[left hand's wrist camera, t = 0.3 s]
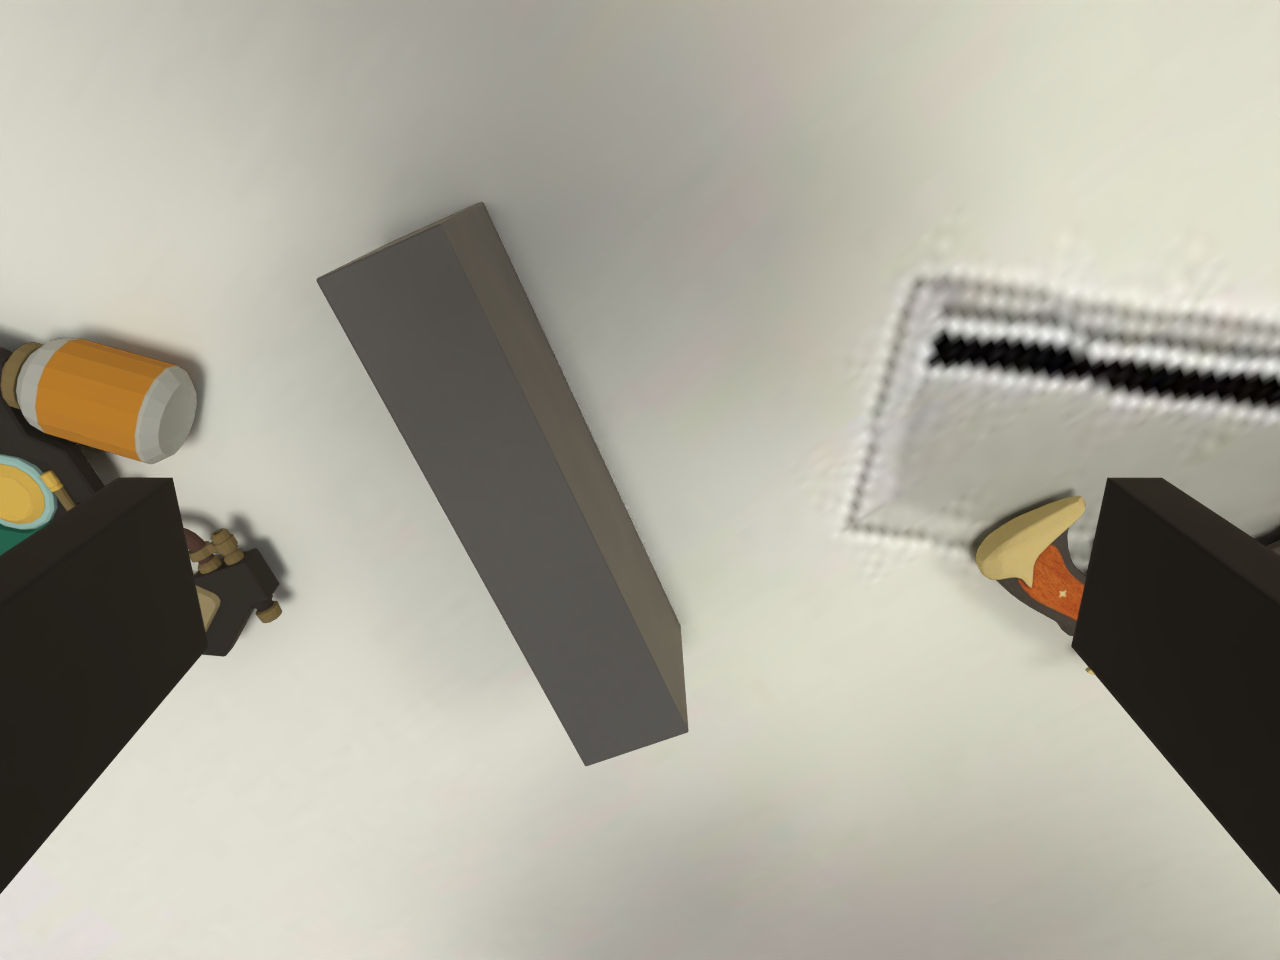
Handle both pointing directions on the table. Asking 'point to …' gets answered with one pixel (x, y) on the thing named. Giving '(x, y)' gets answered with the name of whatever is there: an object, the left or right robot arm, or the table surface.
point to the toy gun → (1041, 561)
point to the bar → (518, 476)
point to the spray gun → (124, 425)
